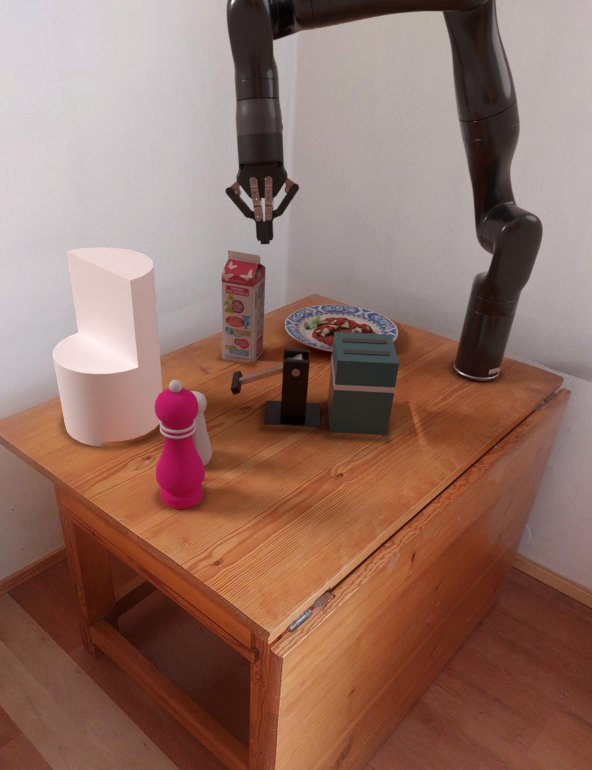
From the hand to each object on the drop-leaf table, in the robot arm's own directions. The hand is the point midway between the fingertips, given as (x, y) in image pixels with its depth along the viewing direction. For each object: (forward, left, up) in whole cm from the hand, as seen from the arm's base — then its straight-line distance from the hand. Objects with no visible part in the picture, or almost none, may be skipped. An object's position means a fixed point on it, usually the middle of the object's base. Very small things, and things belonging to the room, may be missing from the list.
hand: (265, 243), depth 110 cm
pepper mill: (+37, +3, -28) cm, 47 cm away
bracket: (+9, +10, -28) cm, 31 cm away
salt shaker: (+29, +1, -28) cm, 41 cm away
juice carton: (-10, -8, -28) cm, 31 cm away
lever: (+11, +6, -20) cm, 23 cm away
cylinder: (+23, -18, -28) cm, 41 cm away
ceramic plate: (-29, +8, -28) cm, 41 cm away
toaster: (+6, +21, -28) cm, 35 cm away
